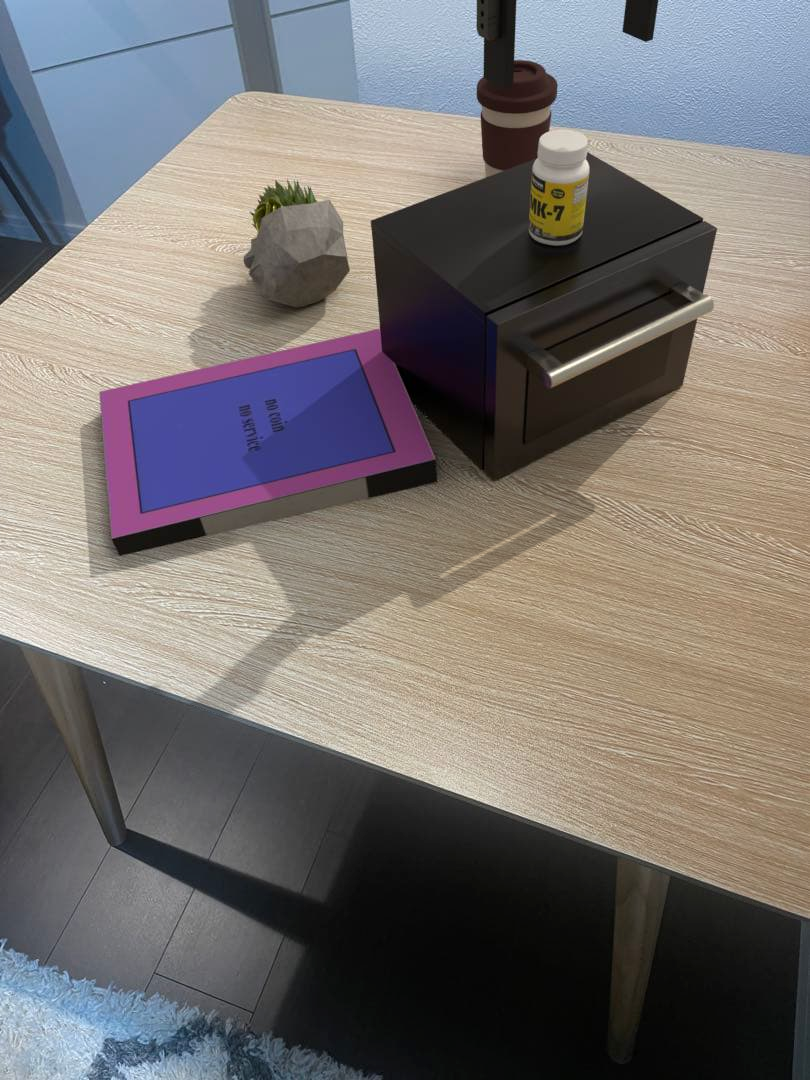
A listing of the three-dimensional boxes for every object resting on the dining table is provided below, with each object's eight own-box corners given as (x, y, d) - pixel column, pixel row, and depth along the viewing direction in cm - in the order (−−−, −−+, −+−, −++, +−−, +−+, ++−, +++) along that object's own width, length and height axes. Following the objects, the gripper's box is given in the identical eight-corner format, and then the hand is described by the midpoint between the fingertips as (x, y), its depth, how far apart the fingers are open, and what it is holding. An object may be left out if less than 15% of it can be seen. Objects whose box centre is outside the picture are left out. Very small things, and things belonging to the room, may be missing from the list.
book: (99, 391, 94) (379, 328, 98) (108, 413, 97) (382, 350, 100) (111, 538, 81) (435, 459, 84) (121, 559, 83) (437, 481, 87)
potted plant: (244, 311, 101) (194, 220, 107) (324, 334, 111) (274, 249, 117) (309, 229, 95) (252, 136, 101) (387, 260, 105) (331, 174, 111)
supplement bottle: (517, 236, 81) (522, 142, 75) (548, 213, 83) (555, 121, 77) (562, 253, 79) (571, 159, 73) (593, 229, 81) (603, 136, 75)
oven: (670, 377, 95) (703, 218, 82) (482, 471, 87) (484, 312, 74) (560, 297, 105) (574, 144, 92) (383, 375, 98) (370, 220, 84)
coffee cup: (535, 211, 118) (542, 92, 107) (464, 198, 121) (464, 81, 110) (560, 176, 124) (569, 59, 113) (492, 164, 127) (494, 50, 116)
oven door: (709, 405, 92) (750, 246, 78) (518, 505, 84) (527, 347, 71) (671, 377, 95) (704, 220, 82) (483, 472, 87) (485, 315, 74)
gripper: (709, -348, 60) (658, 5, 76) (388, -296, 52) (406, 86, 68) (798, -342, 56) (724, 31, 72) (463, -284, 48) (464, 121, 64)
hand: (569, 58), depth 70 cm, fingers open, 13 cm apart
